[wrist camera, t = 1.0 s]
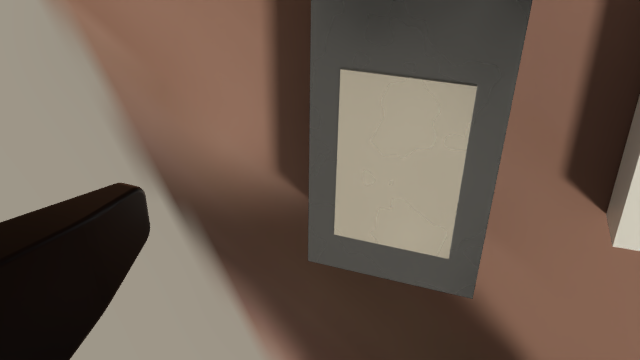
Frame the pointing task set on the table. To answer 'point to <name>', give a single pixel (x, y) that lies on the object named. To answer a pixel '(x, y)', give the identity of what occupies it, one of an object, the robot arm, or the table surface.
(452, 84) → the drive
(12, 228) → the robot arm
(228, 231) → the table surface
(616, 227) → the tray
